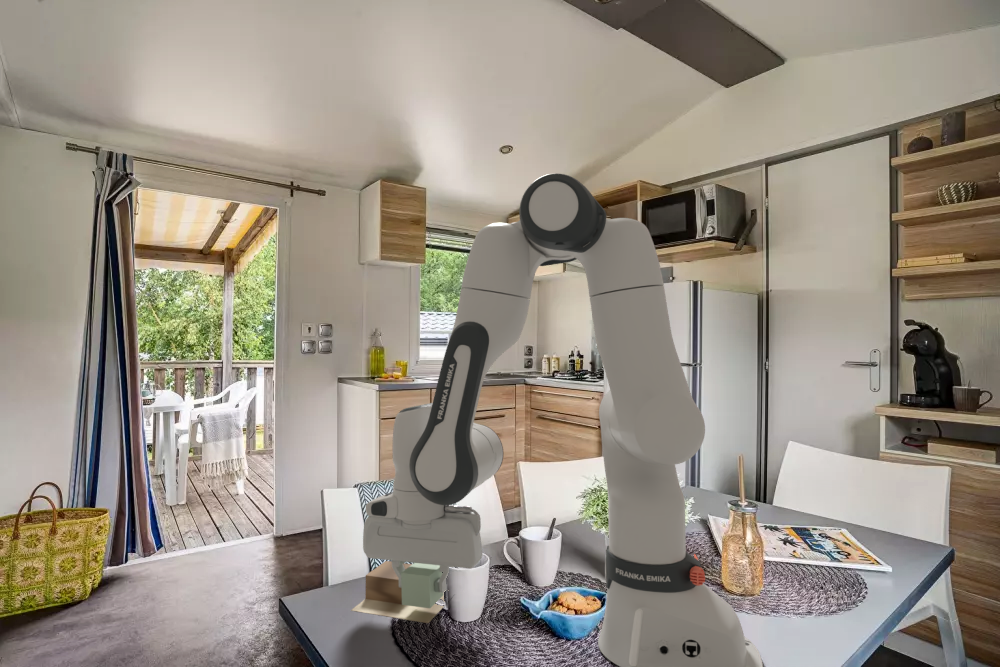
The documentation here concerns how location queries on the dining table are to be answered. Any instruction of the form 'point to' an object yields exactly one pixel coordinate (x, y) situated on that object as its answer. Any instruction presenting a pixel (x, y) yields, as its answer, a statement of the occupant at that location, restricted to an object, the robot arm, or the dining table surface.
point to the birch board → (398, 610)
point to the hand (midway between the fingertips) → (422, 588)
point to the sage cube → (420, 585)
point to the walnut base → (384, 584)
